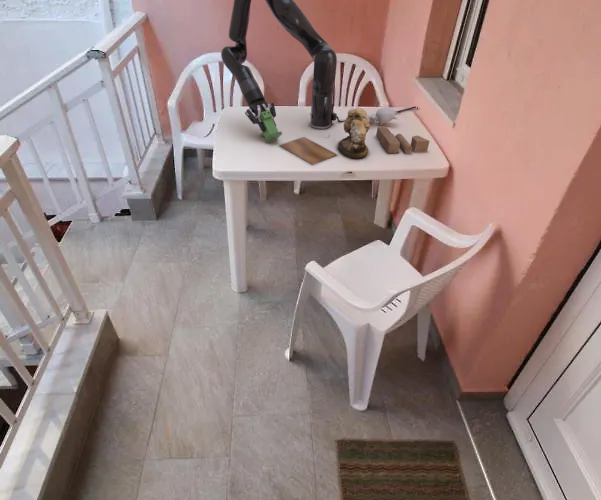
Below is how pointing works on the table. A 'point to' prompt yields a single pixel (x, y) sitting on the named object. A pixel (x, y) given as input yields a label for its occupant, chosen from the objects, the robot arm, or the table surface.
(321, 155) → the wooden board
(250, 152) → the table surface
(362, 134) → the tan lumpy upright piece
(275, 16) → the robot arm
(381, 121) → the toy creature
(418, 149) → the wooden block set
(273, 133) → the toy dinosaur
